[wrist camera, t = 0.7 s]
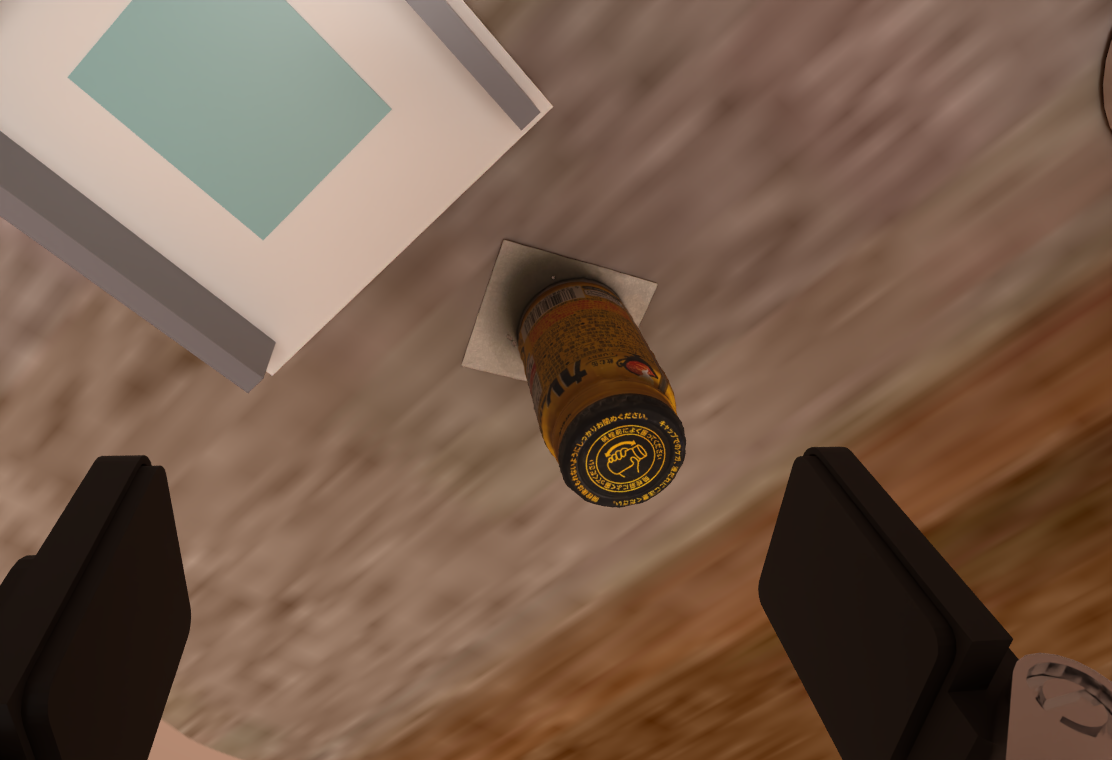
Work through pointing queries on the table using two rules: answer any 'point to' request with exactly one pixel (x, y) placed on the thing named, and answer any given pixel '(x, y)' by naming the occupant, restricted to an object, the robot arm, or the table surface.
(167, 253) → the dock
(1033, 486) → the table surface
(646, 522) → the table surface
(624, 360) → the condiment
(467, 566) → the table surface
